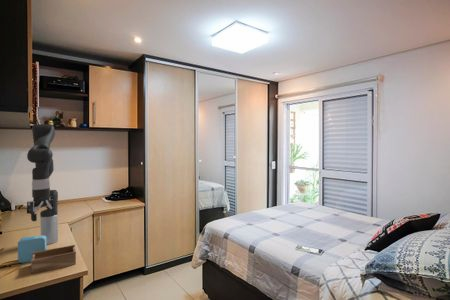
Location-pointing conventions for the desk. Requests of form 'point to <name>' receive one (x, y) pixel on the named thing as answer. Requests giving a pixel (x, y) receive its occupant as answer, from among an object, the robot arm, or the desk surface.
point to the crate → (53, 258)
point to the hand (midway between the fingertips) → (41, 218)
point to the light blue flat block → (30, 247)
